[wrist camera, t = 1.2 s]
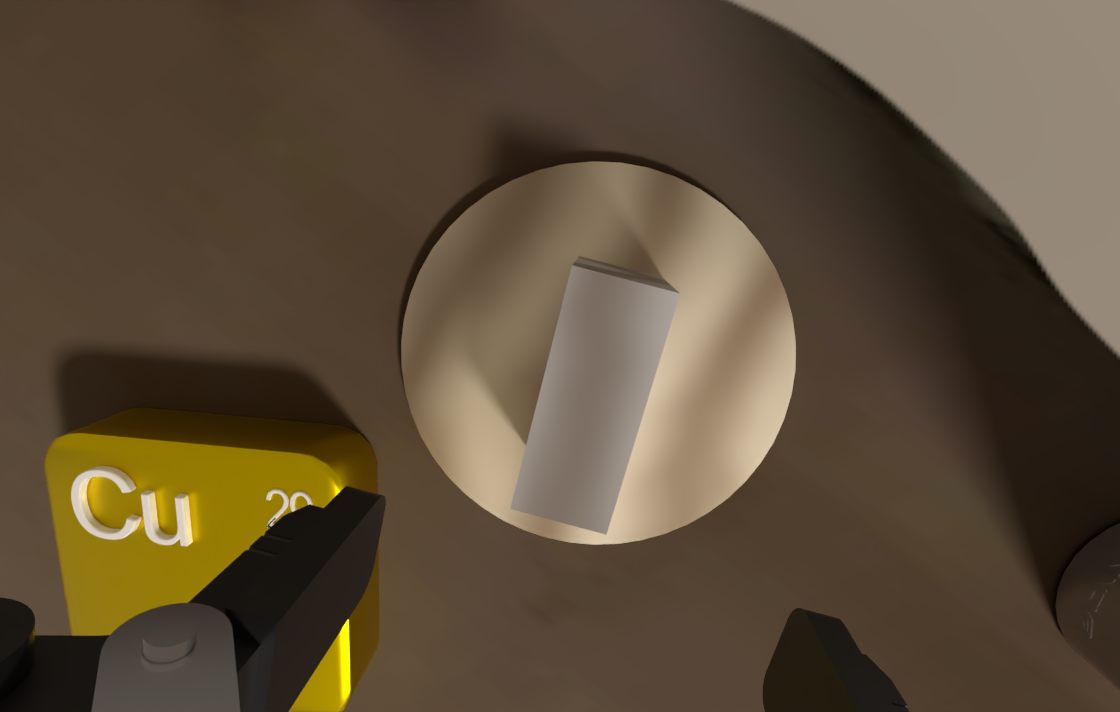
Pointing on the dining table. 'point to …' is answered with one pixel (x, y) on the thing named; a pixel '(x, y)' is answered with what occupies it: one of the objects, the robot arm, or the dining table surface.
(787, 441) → the dining table surface
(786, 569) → the dining table surface
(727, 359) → the lid
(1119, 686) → the robot arm
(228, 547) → the element tile
